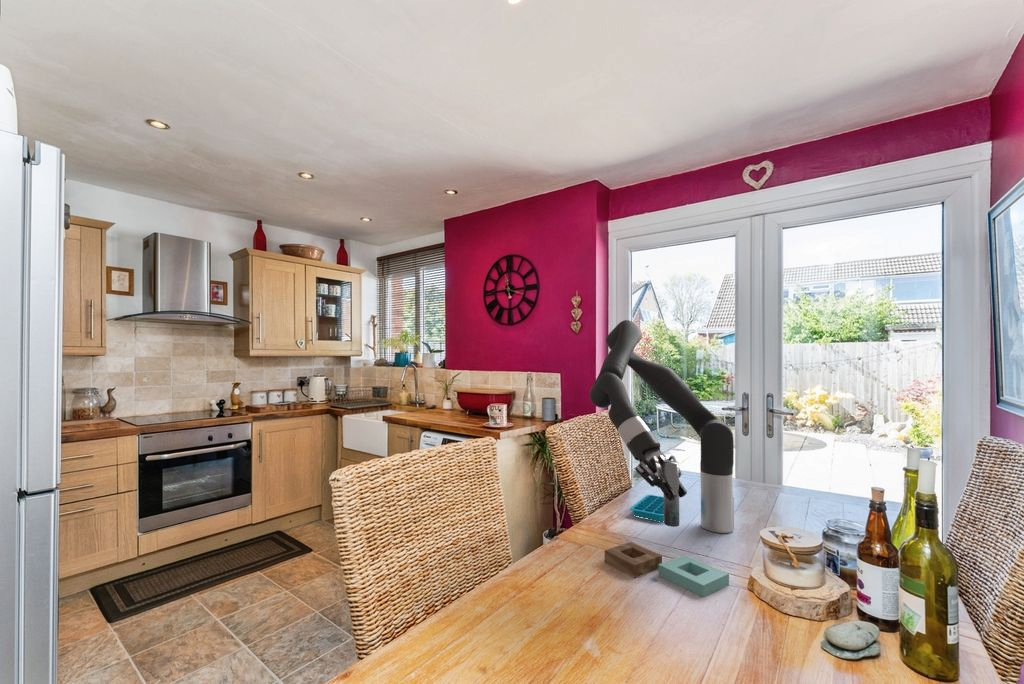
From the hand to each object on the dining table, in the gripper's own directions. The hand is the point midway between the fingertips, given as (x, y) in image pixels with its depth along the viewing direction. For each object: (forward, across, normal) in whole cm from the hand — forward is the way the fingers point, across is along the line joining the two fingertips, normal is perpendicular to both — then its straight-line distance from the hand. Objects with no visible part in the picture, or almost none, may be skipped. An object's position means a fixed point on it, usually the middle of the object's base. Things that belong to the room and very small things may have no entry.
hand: (678, 497), depth 107 cm
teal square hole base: (+15, -2, -12) cm, 19 cm away
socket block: (+6, +4, -21) cm, 22 cm away
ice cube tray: (-8, -34, -38) cm, 52 cm away
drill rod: (+4, 0, -6) cm, 7 cm away
